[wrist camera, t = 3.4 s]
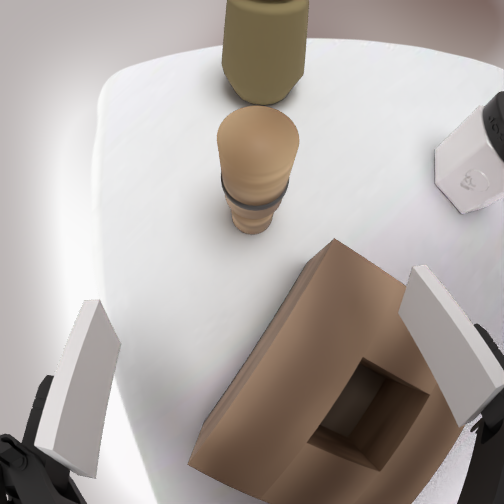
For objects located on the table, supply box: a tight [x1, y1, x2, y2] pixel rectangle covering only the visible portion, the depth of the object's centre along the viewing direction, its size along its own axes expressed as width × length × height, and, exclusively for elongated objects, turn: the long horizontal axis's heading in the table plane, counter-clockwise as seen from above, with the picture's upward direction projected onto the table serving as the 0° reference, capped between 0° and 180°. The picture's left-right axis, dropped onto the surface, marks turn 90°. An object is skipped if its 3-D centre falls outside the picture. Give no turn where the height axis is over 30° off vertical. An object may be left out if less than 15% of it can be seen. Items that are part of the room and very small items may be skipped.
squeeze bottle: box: [222, 0, 309, 105], centre depth 20 cm, size 8×8×18 cm
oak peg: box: [217, 106, 299, 234], centre depth 20 cm, size 4×4×12 cm
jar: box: [435, 91, 504, 214], centre depth 22 cm, size 9×8×12 cm
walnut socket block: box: [187, 238, 465, 504], centre depth 19 cm, size 16×16×8 cm
